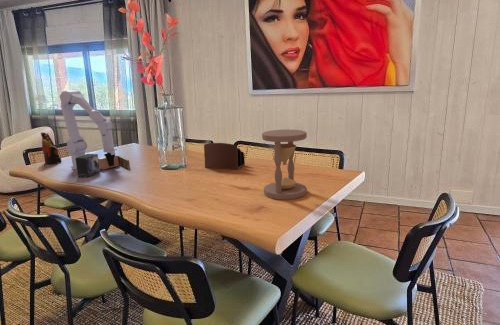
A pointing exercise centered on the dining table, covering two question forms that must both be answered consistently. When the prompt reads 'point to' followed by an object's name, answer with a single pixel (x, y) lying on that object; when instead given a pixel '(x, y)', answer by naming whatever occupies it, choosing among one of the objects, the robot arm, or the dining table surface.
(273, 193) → the hourglass
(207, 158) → the letter holder
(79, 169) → the small box
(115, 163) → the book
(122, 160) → the shelf
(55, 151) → the statue
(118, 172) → the dining table surface
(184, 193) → the dining table surface
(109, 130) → the robot arm
